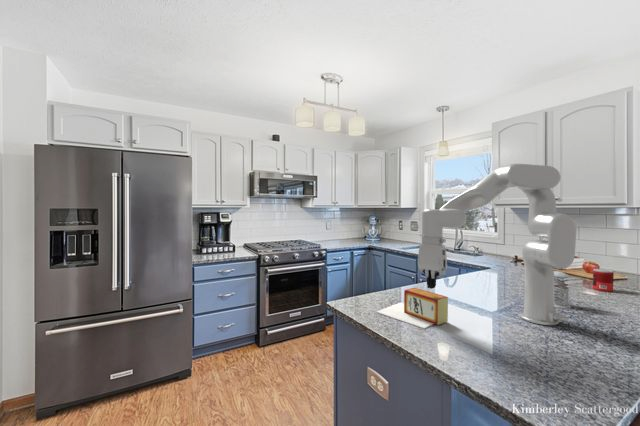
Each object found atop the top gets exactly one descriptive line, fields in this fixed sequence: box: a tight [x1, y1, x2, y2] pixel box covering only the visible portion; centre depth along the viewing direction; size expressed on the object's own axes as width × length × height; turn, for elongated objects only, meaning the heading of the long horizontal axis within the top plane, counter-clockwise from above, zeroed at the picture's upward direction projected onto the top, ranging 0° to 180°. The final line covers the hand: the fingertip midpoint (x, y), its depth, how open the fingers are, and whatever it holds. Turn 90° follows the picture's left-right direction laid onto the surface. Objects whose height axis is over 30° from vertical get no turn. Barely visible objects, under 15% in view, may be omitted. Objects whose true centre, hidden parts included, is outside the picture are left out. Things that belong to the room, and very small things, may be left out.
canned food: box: [592, 268, 614, 293], centre depth 158 cm, size 8×8×11 cm
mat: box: [375, 302, 434, 330], centre depth 121 cm, size 22×18×1 cm
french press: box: [553, 270, 572, 309], centre depth 135 cm, size 10×12×25 cm
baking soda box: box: [403, 287, 449, 326], centre depth 118 cm, size 10×6×16 cm
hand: (431, 287), depth 114 cm, fingers closed
